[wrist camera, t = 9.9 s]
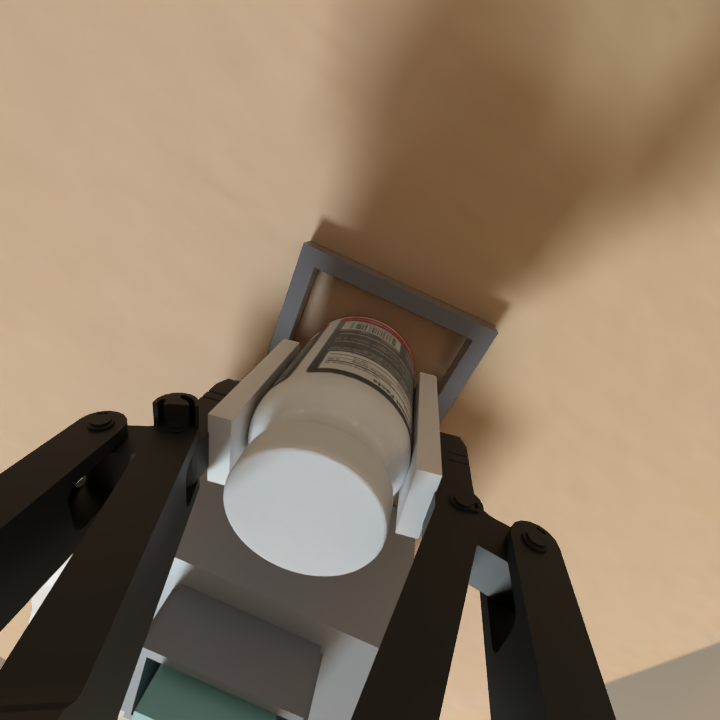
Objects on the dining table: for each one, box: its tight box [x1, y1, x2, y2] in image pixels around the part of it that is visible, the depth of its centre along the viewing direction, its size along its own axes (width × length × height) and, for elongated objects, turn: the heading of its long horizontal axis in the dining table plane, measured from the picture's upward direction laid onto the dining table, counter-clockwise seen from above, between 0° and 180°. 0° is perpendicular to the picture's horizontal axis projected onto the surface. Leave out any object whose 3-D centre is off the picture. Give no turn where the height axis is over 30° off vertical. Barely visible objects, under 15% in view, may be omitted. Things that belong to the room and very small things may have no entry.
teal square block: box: [132, 664, 277, 720], centre depth 15 cm, size 5×5×3 cm
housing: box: [121, 241, 498, 720], centre depth 17 cm, size 23×14×10 cm, turn 157°
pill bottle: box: [223, 316, 415, 576], centre depth 14 cm, size 6×6×10 cm
